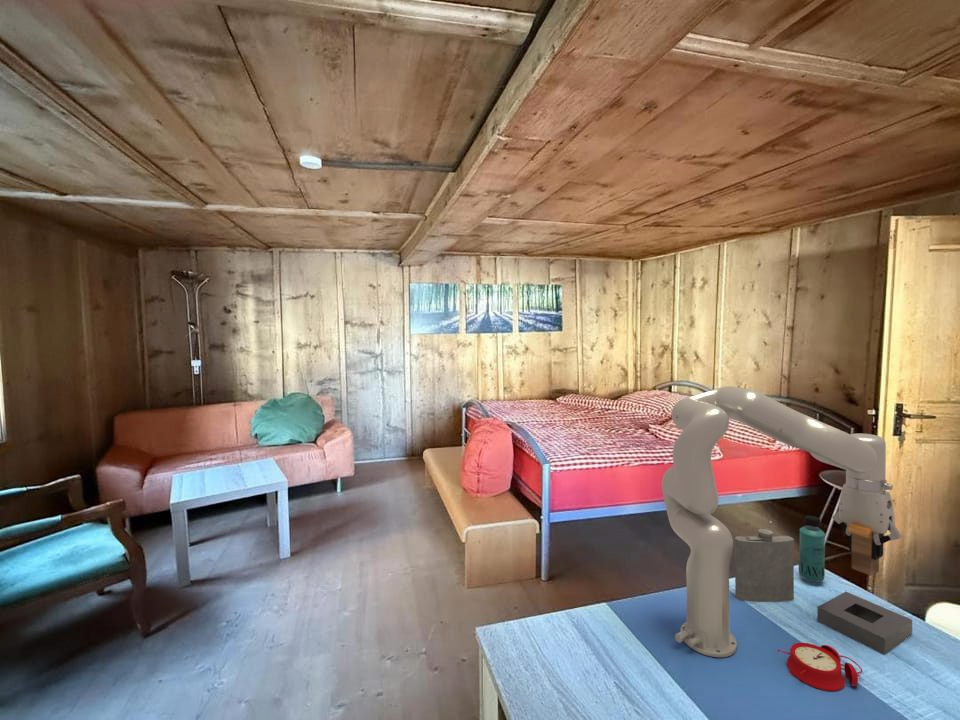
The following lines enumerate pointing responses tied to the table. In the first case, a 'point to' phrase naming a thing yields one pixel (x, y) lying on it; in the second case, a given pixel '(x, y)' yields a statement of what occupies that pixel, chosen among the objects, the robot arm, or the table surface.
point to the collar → (865, 622)
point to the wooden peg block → (863, 550)
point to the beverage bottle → (812, 550)
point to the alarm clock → (820, 666)
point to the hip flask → (764, 567)
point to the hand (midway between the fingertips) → (865, 553)
